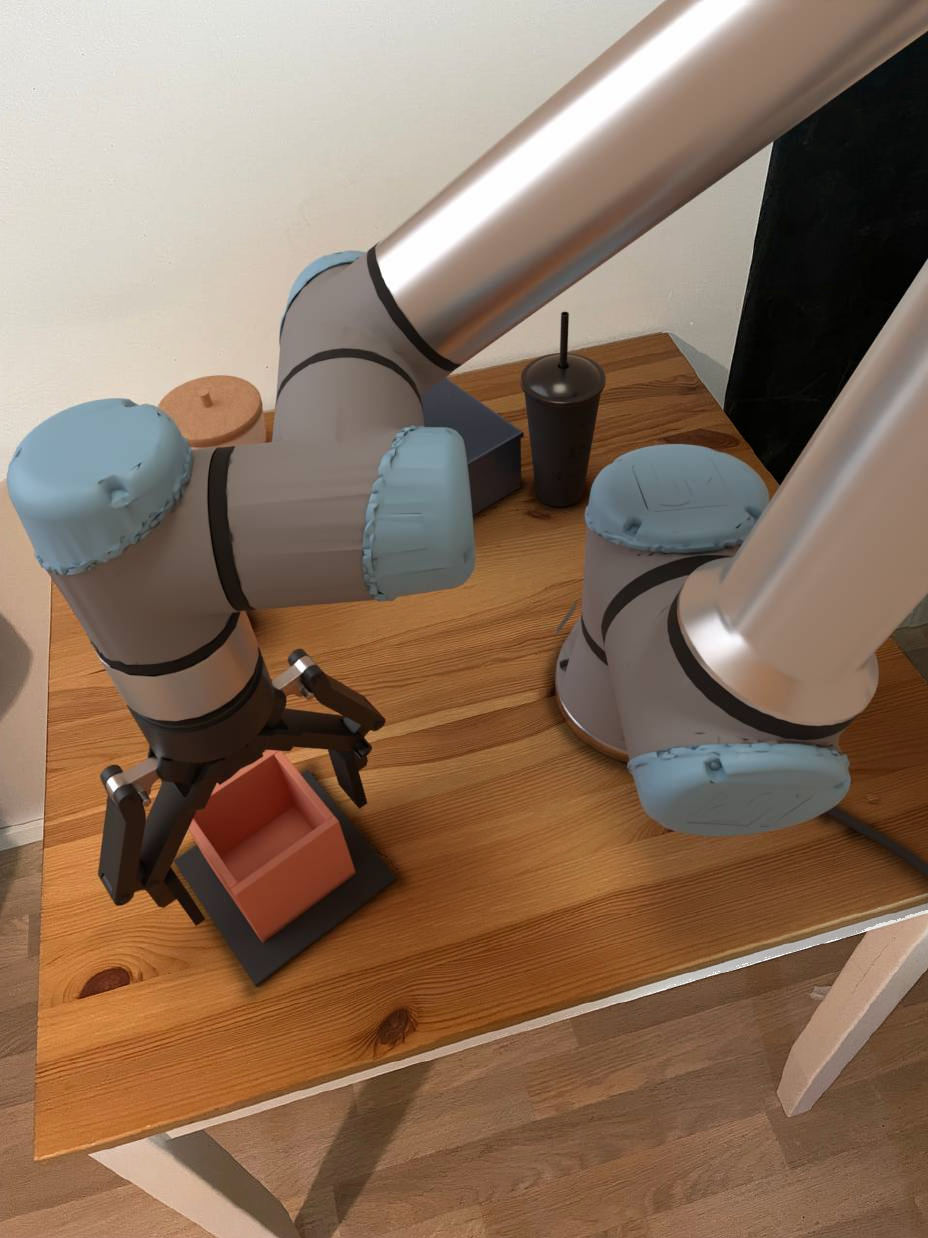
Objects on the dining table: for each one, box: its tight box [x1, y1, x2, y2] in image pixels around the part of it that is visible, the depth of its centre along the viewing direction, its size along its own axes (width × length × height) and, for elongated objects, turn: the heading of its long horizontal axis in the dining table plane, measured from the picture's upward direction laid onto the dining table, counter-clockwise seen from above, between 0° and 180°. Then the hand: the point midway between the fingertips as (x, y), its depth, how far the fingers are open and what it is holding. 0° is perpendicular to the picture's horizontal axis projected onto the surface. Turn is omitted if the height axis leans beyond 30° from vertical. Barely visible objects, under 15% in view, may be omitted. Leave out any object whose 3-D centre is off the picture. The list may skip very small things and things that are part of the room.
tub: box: [188, 750, 356, 942], centre depth 65 cm, size 8×8×8 cm
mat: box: [173, 769, 398, 987], centre depth 68 cm, size 12×12×1 cm
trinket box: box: [157, 374, 267, 450], centre depth 96 cm, size 11×11×9 cm
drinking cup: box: [519, 311, 607, 508], centre depth 86 cm, size 8×8×20 cm
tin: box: [422, 377, 525, 516], centre depth 93 cm, size 14×14×7 cm
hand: (275, 849), depth 66 cm, fingers open, 13 cm apart
